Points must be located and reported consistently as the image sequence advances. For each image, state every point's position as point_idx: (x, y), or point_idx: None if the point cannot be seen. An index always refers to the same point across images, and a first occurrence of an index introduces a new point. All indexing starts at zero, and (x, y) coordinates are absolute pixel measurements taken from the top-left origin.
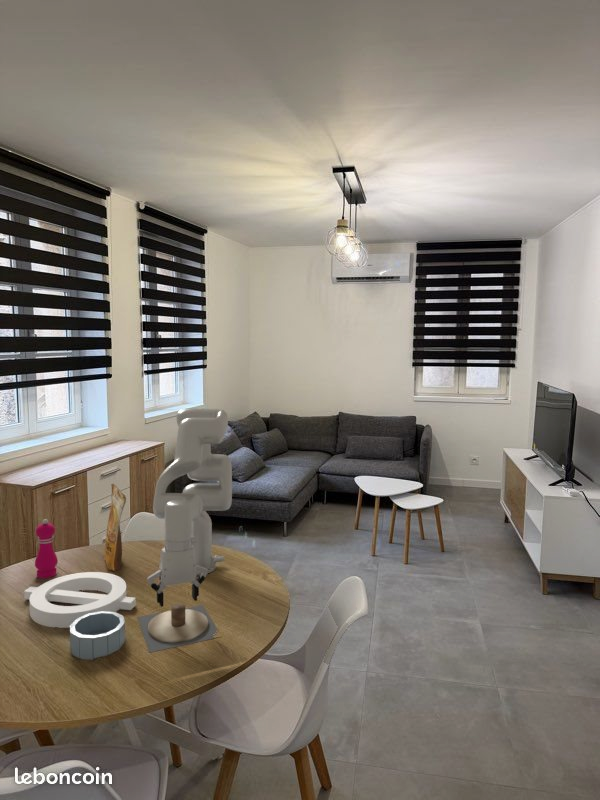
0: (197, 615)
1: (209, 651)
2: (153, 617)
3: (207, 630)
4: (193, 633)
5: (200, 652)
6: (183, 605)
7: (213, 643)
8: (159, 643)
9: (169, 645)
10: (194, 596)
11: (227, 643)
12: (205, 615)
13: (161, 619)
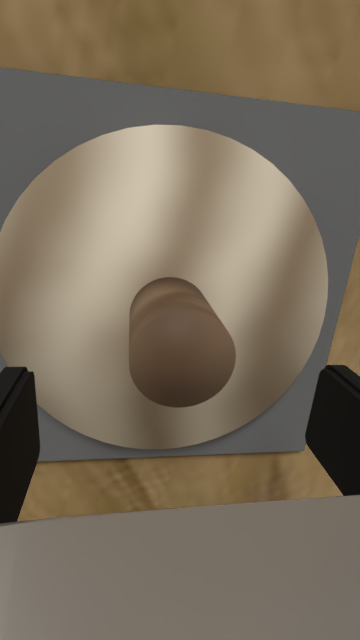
0: (294, 274)
1: (222, 501)
2: (47, 128)
3: None
4: (206, 427)
5: (191, 498)
6: (225, 354)
7: (257, 464)
8: (44, 416)
9: (86, 444)
10: (323, 465)
11: (300, 478)
12: (335, 257)
13: (85, 228)
